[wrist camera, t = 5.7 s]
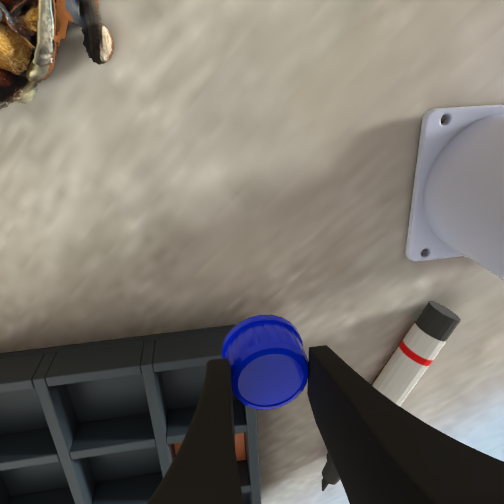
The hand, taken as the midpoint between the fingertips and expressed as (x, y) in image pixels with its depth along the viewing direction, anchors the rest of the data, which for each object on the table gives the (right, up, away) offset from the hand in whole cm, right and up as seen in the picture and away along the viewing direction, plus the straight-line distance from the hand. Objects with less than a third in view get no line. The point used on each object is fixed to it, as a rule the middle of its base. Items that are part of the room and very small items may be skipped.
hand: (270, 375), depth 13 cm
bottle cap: (0, +1, +1) cm, 2 cm away
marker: (+7, -5, +13) cm, 16 cm away
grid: (-8, -8, +11) cm, 16 cm away
